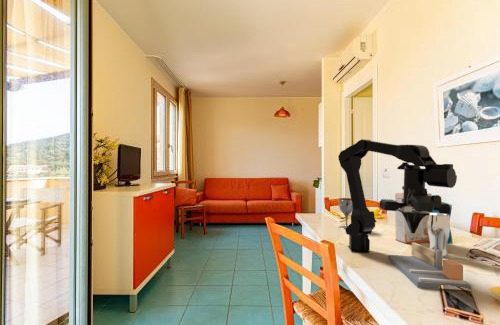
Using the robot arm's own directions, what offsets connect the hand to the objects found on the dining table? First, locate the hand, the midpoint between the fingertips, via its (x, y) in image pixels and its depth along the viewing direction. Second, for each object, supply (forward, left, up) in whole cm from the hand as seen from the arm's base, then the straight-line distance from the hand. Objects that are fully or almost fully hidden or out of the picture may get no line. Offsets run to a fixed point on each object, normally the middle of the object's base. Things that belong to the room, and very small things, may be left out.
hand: (412, 233), depth 82 cm
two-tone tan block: (+5, +4, -10) cm, 12 cm away
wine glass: (-9, +52, -12) cm, 54 cm away
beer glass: (+16, +16, -12) cm, 25 cm away
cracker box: (+15, +33, -12) cm, 38 cm away
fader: (+6, -9, -10) cm, 15 cm away
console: (+2, -3, -12) cm, 12 cm away
